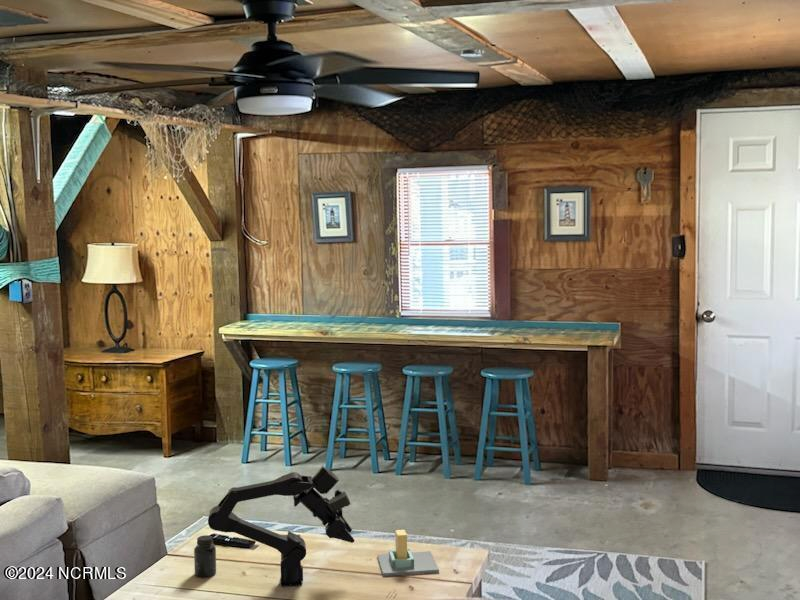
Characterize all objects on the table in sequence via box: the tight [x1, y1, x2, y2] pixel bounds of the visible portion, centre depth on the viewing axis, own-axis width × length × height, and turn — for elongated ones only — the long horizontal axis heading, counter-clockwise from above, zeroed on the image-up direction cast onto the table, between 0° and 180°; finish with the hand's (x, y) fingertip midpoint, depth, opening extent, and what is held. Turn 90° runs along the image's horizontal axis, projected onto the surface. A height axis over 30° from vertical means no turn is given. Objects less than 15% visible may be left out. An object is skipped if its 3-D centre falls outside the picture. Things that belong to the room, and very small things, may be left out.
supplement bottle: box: [193, 534, 217, 579], centre depth 286 cm, size 7×7×12 cm
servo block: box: [394, 529, 408, 559], centre depth 292 cm, size 3×5×10 cm, turn 9°
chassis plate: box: [376, 548, 440, 577], centre depth 293 cm, size 18×16×4 cm
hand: (352, 536), depth 281 cm, fingers open, 9 cm apart
